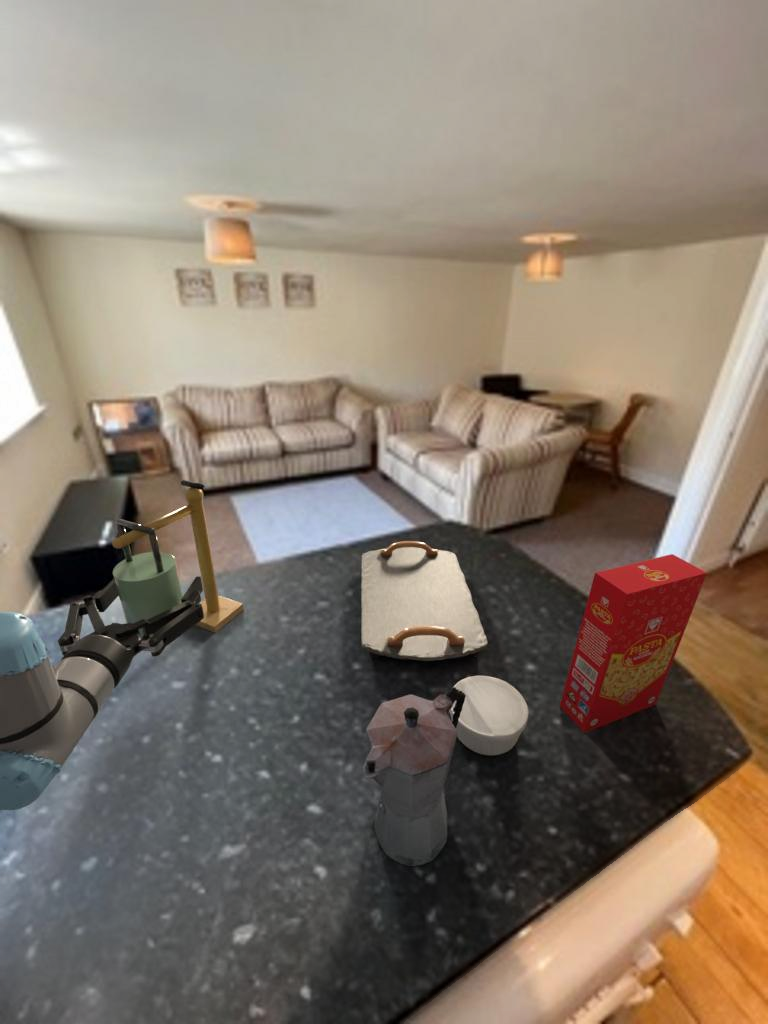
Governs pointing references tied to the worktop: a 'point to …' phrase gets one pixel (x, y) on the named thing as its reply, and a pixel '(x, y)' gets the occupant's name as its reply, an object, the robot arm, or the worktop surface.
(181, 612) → the robot arm
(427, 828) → the moka pot
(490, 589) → the worktop surface
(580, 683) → the food packaging
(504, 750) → the ramekin
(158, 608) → the green hanging weight
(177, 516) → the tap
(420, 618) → the serving tray
